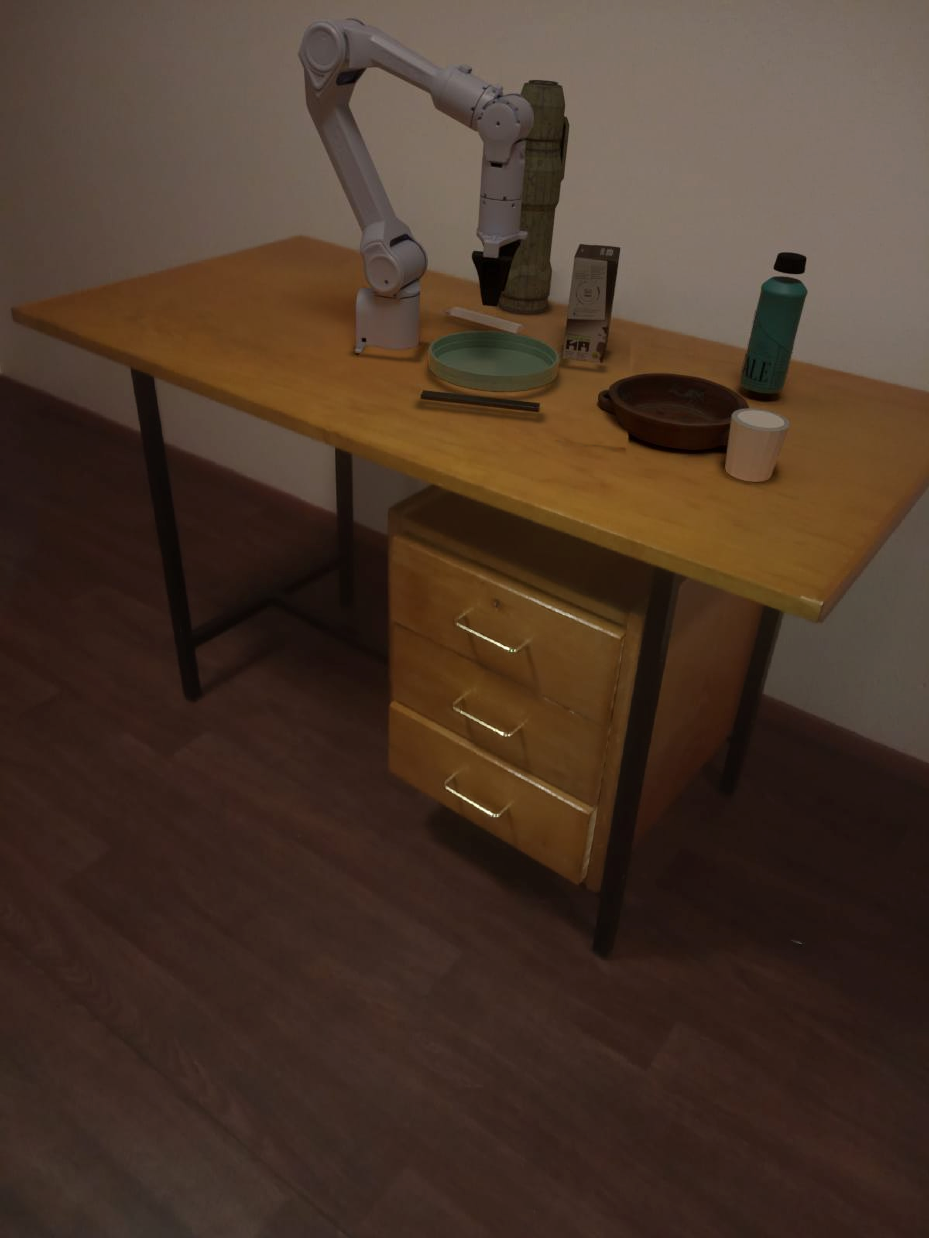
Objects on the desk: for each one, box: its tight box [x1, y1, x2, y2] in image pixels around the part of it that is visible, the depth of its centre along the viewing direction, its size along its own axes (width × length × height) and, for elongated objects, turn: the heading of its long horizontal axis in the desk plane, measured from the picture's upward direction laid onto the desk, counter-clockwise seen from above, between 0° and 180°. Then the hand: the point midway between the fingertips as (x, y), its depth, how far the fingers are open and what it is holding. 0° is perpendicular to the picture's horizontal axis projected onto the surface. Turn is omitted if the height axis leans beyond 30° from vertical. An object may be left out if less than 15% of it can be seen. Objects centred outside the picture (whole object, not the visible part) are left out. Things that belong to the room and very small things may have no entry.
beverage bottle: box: [740, 251, 809, 394], centre depth 134 cm, size 6×7×20 cm
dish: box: [597, 372, 750, 451], centre depth 125 cm, size 18×22×5 cm
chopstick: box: [420, 389, 541, 413], centre depth 128 cm, size 2×16×2 cm, turn 81°
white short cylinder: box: [724, 407, 791, 483], centre depth 116 cm, size 7×7×7 cm
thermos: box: [498, 79, 570, 315], centre depth 159 cm, size 9×12×35 cm
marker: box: [442, 306, 524, 334], centre depth 158 cm, size 3×2×16 cm
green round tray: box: [427, 330, 560, 393], centre depth 139 cm, size 19×19×4 cm
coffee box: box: [561, 243, 621, 364], centre depth 144 cm, size 9×6×16 cm
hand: (493, 297), depth 137 cm, fingers open, 7 cm apart
